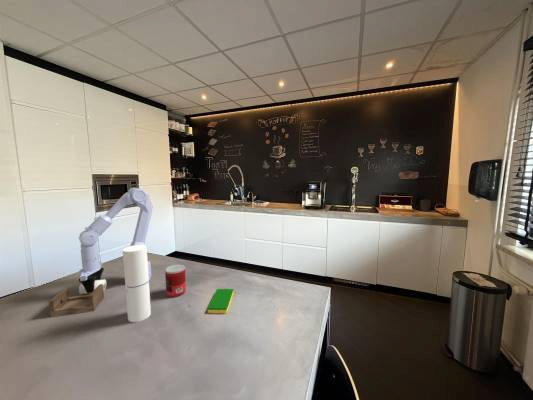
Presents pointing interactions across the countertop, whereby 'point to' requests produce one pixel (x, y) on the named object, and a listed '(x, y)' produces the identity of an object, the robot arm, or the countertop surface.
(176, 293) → the canned food
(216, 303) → the dish sponge
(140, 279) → the cylindrical container
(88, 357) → the countertop surface
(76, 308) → the holder
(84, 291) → the roll
